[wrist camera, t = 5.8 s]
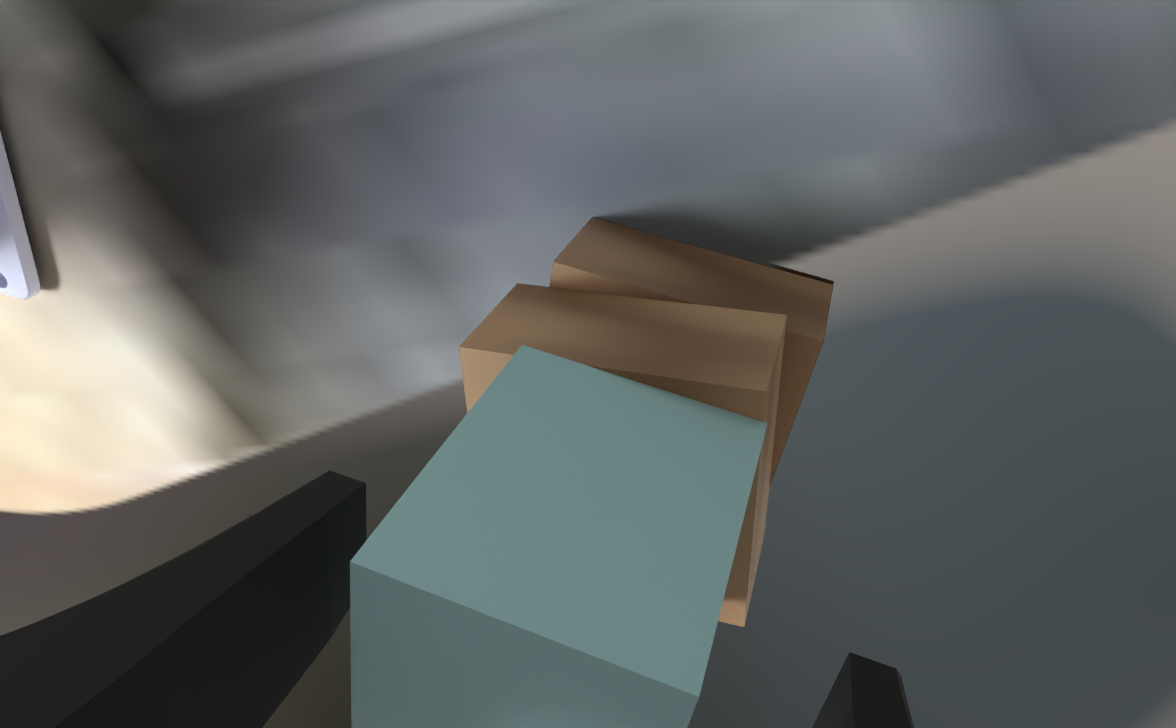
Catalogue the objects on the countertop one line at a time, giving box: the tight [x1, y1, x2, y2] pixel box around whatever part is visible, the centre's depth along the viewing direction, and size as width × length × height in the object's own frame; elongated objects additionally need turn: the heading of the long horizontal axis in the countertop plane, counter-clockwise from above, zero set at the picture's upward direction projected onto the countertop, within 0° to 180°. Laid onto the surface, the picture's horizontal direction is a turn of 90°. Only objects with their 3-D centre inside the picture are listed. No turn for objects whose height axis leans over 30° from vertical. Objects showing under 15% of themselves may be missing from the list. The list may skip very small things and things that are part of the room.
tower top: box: [459, 283, 787, 627], centre depth 15 cm, size 5×5×2 cm
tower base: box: [550, 217, 834, 487], centre depth 17 cm, size 5×5×2 cm
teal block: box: [350, 345, 767, 728], centre depth 12 cm, size 4×4×5 cm
